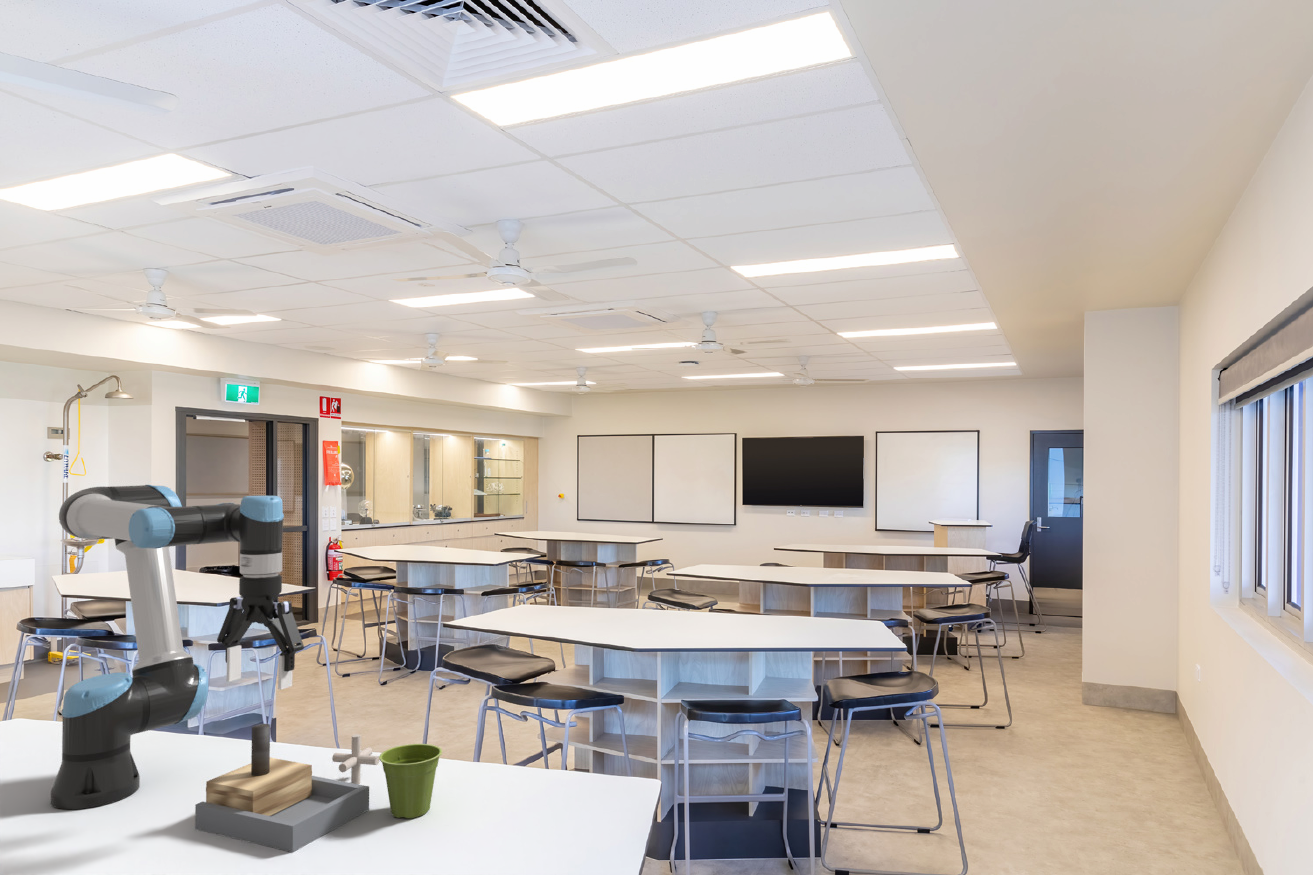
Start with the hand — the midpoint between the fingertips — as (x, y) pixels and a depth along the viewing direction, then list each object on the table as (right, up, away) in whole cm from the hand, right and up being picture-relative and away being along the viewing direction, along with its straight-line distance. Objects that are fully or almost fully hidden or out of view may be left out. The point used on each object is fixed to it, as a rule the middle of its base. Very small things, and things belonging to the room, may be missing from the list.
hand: (259, 683), depth 161 cm
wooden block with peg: (+1, -23, -1) cm, 23 cm away
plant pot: (+30, -25, 0) cm, 39 cm away
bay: (+7, -25, -4) cm, 26 cm away
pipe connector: (+14, -25, +14) cm, 32 cm away
